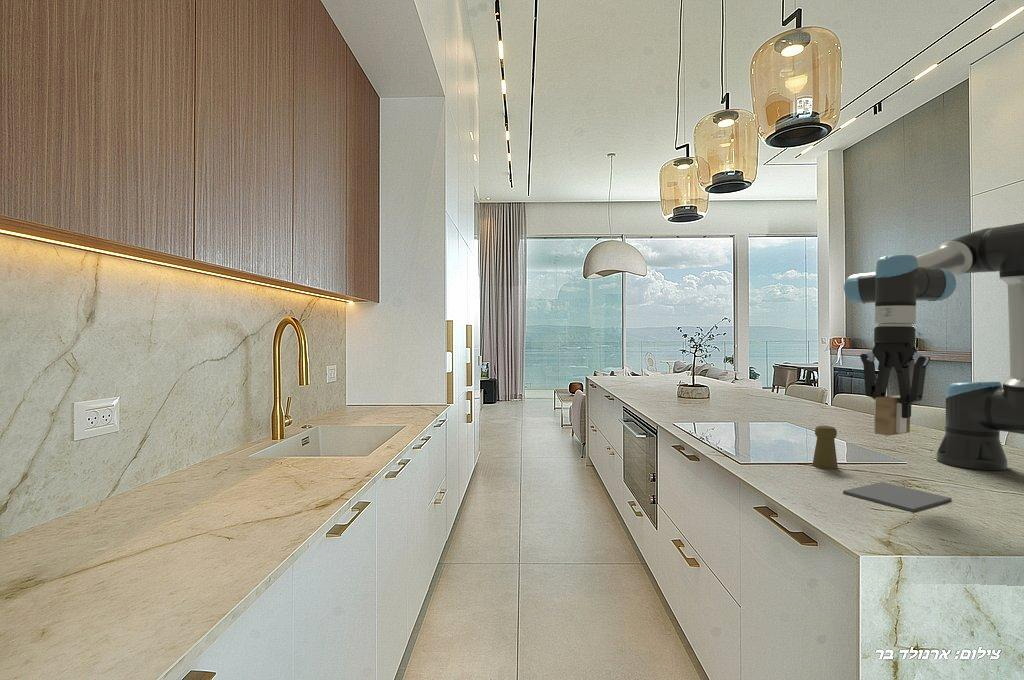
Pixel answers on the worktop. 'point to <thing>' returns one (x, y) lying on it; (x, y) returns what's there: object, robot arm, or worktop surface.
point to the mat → (897, 496)
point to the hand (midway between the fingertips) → (891, 430)
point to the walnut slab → (887, 415)
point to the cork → (825, 448)
